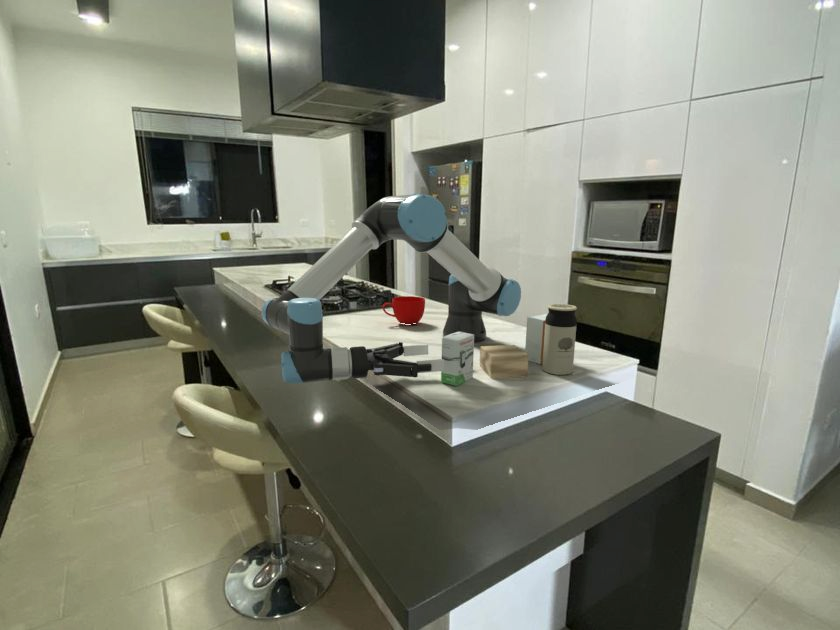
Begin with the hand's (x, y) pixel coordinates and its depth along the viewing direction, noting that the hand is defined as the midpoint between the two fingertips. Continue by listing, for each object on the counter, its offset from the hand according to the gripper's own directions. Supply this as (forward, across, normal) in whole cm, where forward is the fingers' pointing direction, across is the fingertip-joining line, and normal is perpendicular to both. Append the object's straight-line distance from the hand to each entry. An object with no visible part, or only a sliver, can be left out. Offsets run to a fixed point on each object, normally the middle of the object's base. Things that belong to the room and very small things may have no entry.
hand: (435, 356), depth 112 cm
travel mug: (+35, 0, -7) cm, 36 cm away
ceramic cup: (+7, -65, -7) cm, 66 cm away
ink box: (+6, 0, -7) cm, 9 cm away
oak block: (+20, -4, -7) cm, 22 cm away
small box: (+36, -10, -7) cm, 38 cm away
